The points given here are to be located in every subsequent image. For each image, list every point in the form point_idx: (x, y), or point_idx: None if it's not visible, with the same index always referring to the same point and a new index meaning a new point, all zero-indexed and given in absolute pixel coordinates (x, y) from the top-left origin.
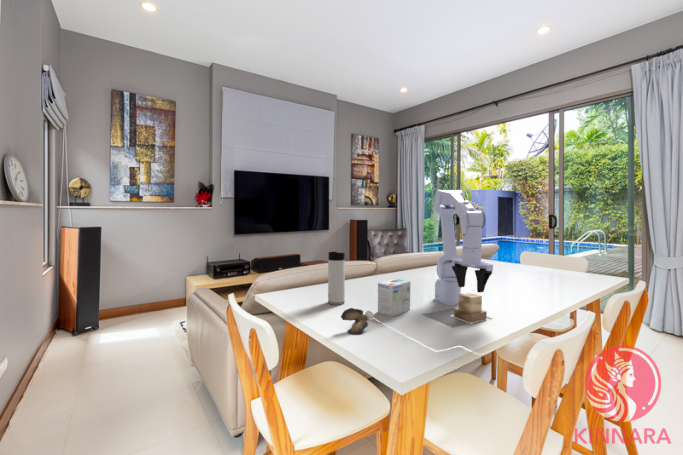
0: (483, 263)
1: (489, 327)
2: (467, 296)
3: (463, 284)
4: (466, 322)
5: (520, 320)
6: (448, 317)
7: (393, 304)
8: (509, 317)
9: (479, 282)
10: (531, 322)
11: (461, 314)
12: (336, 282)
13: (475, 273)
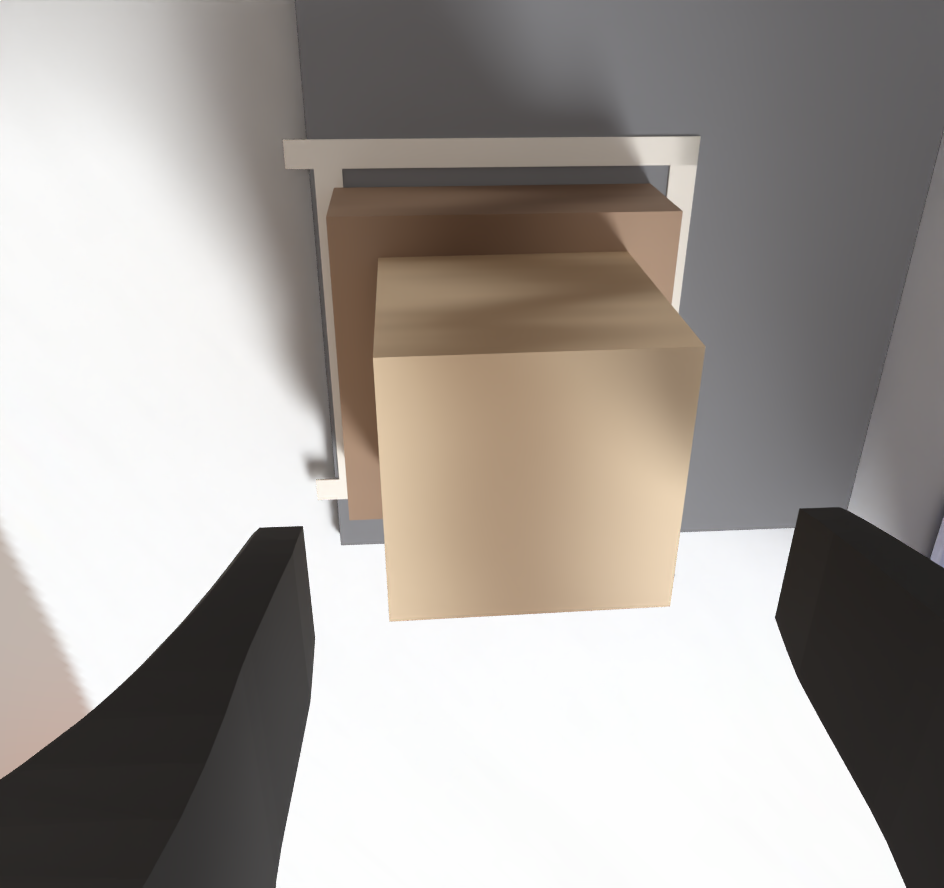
0: None
1: (141, 293)
2: (480, 366)
3: (801, 632)
4: (367, 126)
5: None
6: (656, 52)
7: None
8: (333, 726)
9: (150, 667)
10: None
11: (521, 201)
12: None
13: (151, 851)
